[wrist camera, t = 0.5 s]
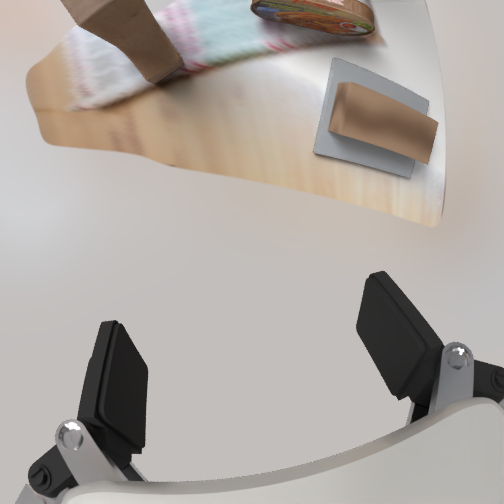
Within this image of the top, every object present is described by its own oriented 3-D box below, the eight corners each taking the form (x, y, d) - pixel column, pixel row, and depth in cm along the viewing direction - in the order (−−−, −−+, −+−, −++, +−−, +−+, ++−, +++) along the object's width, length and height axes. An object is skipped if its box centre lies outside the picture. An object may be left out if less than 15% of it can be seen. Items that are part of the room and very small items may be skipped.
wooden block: (185, 64, 27) (169, 28, 12) (154, 85, 28) (108, 71, 12) (149, 16, 22) (109, -45, 7) (119, 36, 23) (55, -5, 8)
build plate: (332, 58, 29) (335, 57, 28) (425, 100, 33) (429, 101, 32) (312, 151, 36) (315, 153, 35) (406, 176, 40) (410, 178, 39)
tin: (245, 17, 25) (258, -5, 18) (247, -2, 23) (260, -27, 16) (353, 40, 28) (388, 32, 21) (354, 22, 26) (388, 11, 19)
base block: (338, 82, 30) (352, 82, 27) (421, 118, 34) (438, 122, 30) (327, 130, 33) (341, 134, 30) (411, 157, 37) (427, 164, 34)
